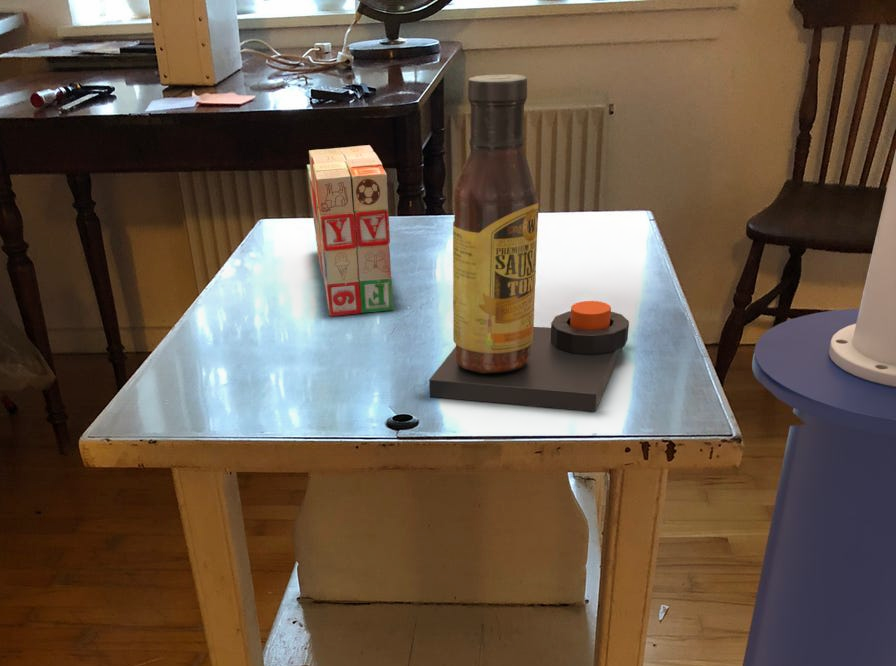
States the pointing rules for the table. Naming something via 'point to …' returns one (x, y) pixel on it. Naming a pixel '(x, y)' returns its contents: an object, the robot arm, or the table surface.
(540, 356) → the scale
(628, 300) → the table surface
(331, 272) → the stack of blocks
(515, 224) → the sauce bottle
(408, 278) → the table surface
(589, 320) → the button
